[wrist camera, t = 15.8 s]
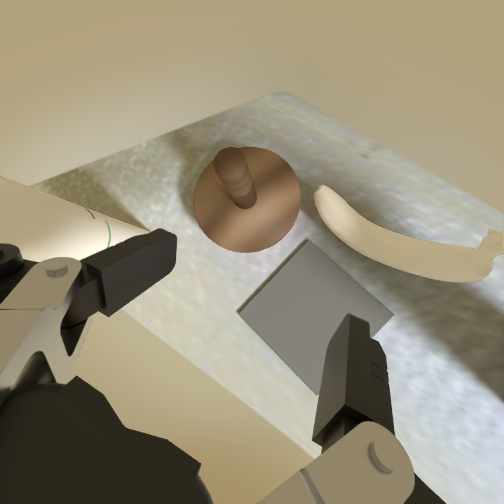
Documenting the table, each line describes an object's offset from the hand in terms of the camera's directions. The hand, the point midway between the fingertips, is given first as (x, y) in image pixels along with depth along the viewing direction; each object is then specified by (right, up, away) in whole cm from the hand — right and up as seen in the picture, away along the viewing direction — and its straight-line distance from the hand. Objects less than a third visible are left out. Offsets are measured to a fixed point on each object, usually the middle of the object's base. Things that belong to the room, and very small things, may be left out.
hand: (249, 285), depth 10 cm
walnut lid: (-1, +8, +21) cm, 22 cm away
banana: (+16, +3, +23) cm, 28 cm away
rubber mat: (+9, -7, +22) cm, 25 cm away
